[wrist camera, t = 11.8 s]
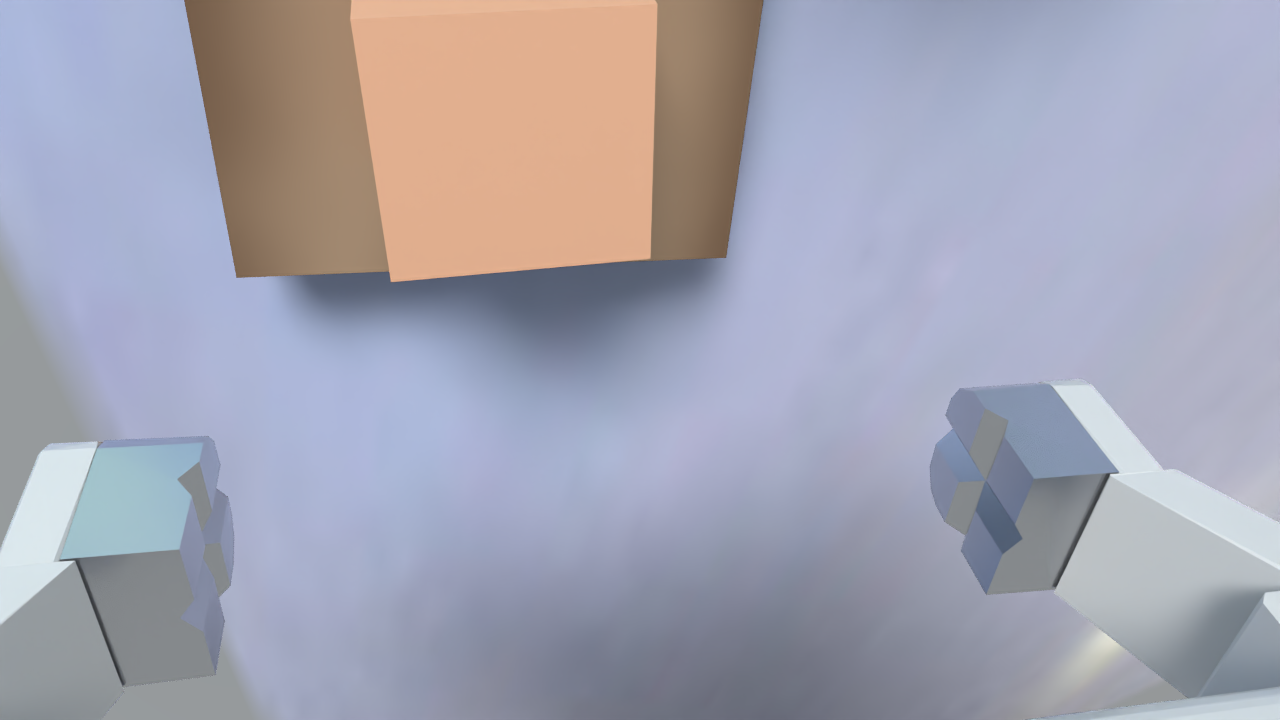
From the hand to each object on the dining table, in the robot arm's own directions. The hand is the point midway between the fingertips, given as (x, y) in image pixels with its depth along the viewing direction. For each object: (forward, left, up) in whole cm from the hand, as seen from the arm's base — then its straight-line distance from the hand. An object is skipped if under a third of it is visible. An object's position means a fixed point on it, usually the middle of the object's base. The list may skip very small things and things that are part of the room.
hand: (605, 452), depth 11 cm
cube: (0, +1, -14) cm, 14 cm away
